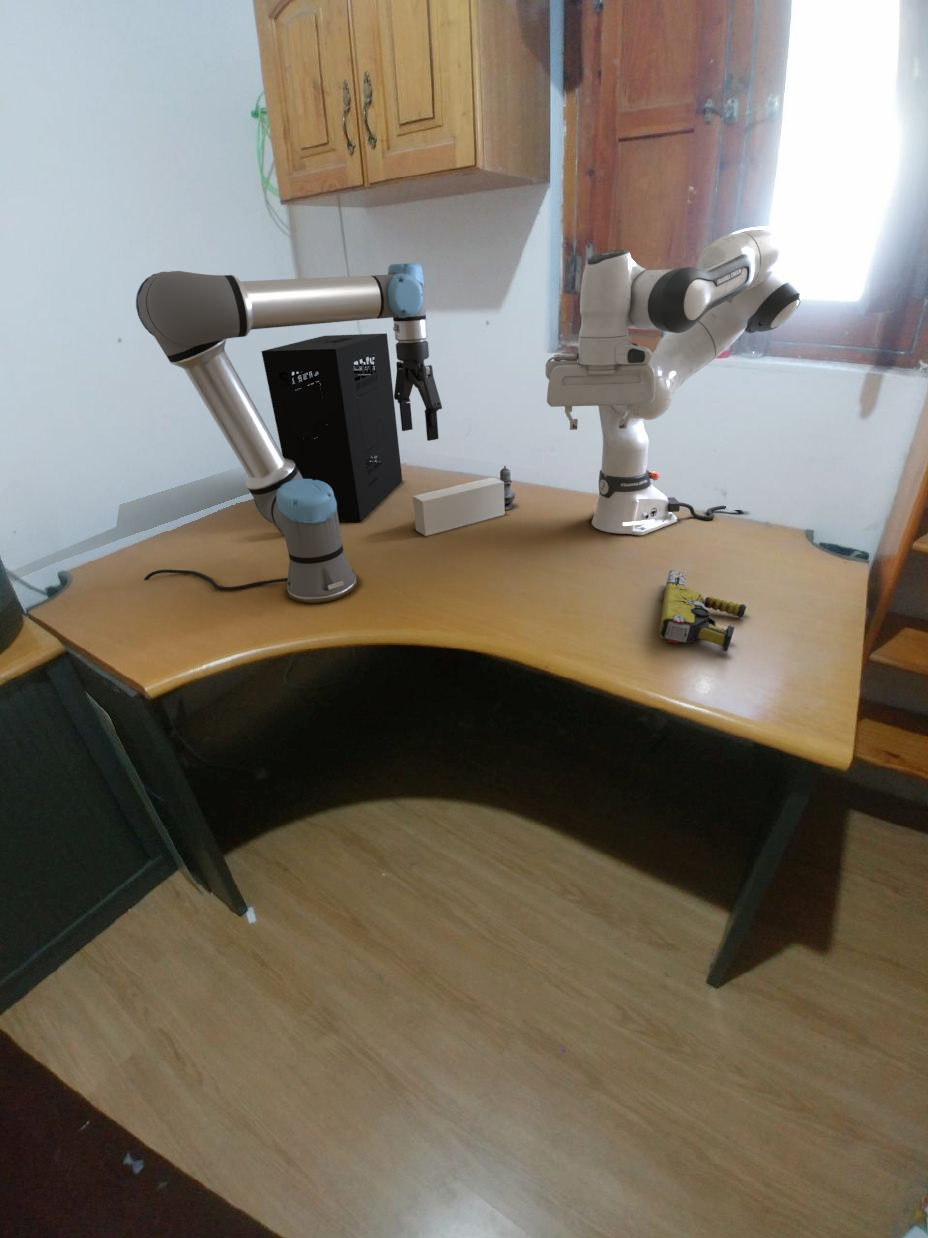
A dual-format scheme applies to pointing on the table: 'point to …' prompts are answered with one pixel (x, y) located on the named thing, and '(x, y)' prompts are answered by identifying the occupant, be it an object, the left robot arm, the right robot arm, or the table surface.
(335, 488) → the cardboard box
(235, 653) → the table surface
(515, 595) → the table surface
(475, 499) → the bar
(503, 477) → the grey chess piece
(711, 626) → the toy gun
